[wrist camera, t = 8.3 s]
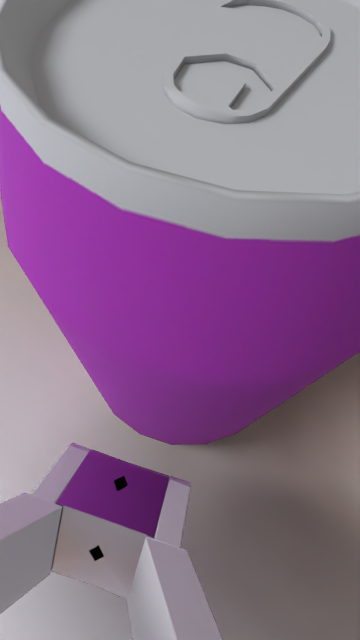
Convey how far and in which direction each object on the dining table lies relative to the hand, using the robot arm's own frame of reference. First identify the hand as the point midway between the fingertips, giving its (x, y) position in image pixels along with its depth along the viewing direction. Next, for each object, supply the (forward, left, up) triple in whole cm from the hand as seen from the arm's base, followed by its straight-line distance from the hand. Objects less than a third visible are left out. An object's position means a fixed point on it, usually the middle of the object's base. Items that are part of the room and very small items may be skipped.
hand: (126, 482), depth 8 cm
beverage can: (0, +5, -5) cm, 8 cm away
